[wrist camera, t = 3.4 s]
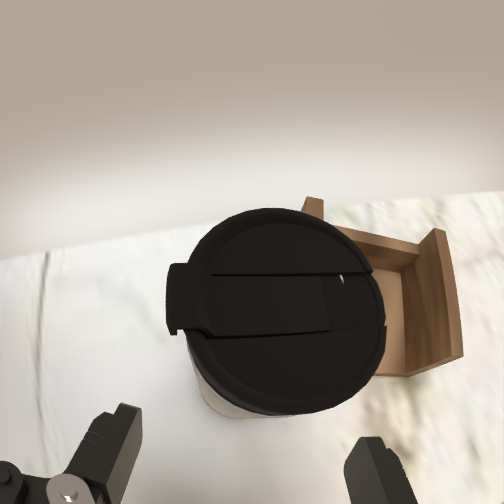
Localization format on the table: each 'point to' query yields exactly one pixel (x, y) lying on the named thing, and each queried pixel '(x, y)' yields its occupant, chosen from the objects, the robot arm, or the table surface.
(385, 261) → the cradle
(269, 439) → the table surface
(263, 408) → the travel mug
